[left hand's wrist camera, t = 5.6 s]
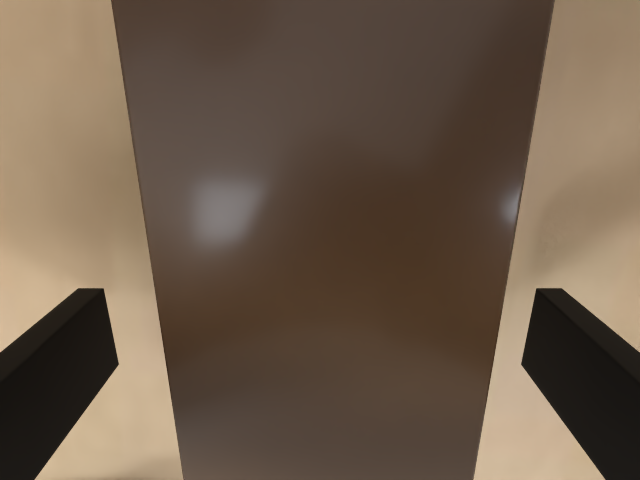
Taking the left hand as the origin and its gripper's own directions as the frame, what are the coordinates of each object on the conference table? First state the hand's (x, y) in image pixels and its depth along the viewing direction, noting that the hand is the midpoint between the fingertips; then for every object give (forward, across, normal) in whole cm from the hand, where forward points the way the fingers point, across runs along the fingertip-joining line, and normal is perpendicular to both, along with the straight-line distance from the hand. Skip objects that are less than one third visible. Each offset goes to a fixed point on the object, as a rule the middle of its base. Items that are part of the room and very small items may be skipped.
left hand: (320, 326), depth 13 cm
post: (+3, 0, -20) cm, 20 cm away
